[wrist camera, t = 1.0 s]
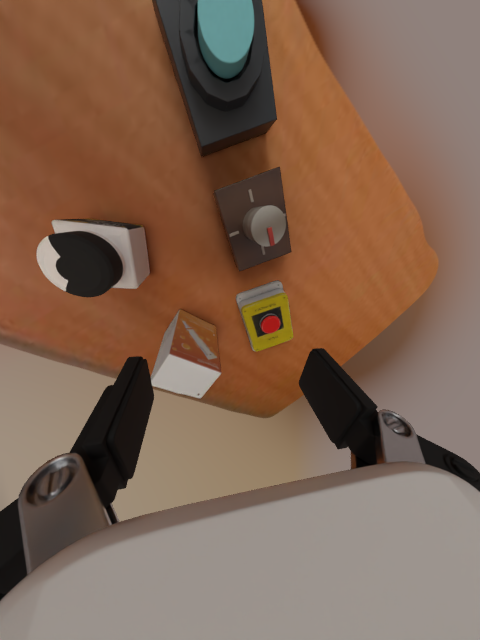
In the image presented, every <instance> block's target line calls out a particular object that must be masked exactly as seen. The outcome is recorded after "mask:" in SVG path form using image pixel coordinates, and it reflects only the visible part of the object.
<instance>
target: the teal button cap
mask: <svg viewBox="0 0 480 640" xmlns="http://www.w3.org/2000/svg"><path fill="white" fill-rule="evenodd" d="M253 33H254V9H253V4H252V0H198V39H199V45H200V49H201V52H202V55H203V57H204V60H205V62H206V63H207V65H208V67H209V68H210V69H211V70H212V71H213V72H214V73H215V74H216V75H217V76H219V77H221V78H225V79H229V78H233V77H235V76H236V75H237V74H238V73H239V72H240V71H241V70H242V68H243V67H244V65H245V62H246V59H247V56H248V52H249V49H250V45H251V42H252V38H253Z"/></svg>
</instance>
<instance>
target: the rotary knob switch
mask: <svg viewBox="0 0 480 640" xmlns="http://www.w3.org/2000/svg"><path fill="white" fill-rule="evenodd" d="M213 196H214V199H215V202H216V205H217V208H218V211H219V214H220V217H221V221H222V224H223V227H224V230H225V233H226V236H227V239H228V242H229V246H230V249H231V252H232V255H233V258H234V261H235V264H236V267H237V268H238V270H239V271H242V270H244V269H247V268H250V267H253V266H255V265H258V264H261V263H263V262H266V261H269V260H271V259H274V258H277V257H279V256H282V255H285V254H288V253H290V252H291V245H290V238H289V231H288V223H287V216H286V209H285V201H284V194H283V187H282V180H281V172H280V167H277V168H275V169H272V170H269V171H267V172H264V173H261V174H258V175H256V176H253V177H250V178H248V179H245V180H242V181H240V182H237V183H234V184H231V185H229V186H226V187H223V188H221V189H218V190H215V191H214V193H213ZM269 205H272V206H276V207H277V208H279V209H280V210H281V211H282V212H283V214H284V216H285V220H286V228H285V232H284V235H283V236H282V238H281V239H280V241H279V242H277V243H276V244H275V245H273V246H268V247H265V246H261V245H259V244H257V243H255V242H253V241H251V240H250V239H248V238H247V237H246V235H245V234H244V231H243V220H244V217H245V215H246V213H247V212H248V211H249V210H251V209H252V208H255V207H261V206H269Z"/></svg>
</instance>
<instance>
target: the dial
mask: <svg viewBox="0 0 480 640" xmlns="http://www.w3.org/2000/svg"><path fill="white" fill-rule="evenodd" d="M285 228H286V220H285V216H284V214H283V212H282V211H281V210H280V209H279V208H277V207H276V206H272V205H269V206H261V207H255V208H252V209H251V210H249V211H248V212H247V213H246V215H245V217H244V220H243V231H244V234H245V235H246V237H247V238H248V239H250V240H251V241H253V242H255V243H257V244H259V245H261V246H265V247H268V246H273V245H275V244H276V243H277V242H279V241H280V239H281V238H282V236H283V235H284V232H285Z"/></svg>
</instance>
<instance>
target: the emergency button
mask: <svg viewBox="0 0 480 640" xmlns="http://www.w3.org/2000/svg"><path fill="white" fill-rule="evenodd" d="M236 301H237V304H238V307H239V310H240V313H241V317H242V320H243V323H244V326H245V329H246V332H247V335H248V338H249V341H250V344H251V347H252V349H253V351H260V350H263V349H266V348H269V347H272V346H274V345H277V344H280V343H283V342H286V341H289V340H291V339H292V338H293V331H292V324H291V317H290V310H289V303H288V297H287V295H286V293H285V292H284V291H283V286H282V283H281V282H279V281H273V282H270V283H268V284H265V285H262V286H259V287H256V288H253V289H250V290H247V291H244V292H241V293H239V294H237V296H236Z"/></svg>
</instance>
